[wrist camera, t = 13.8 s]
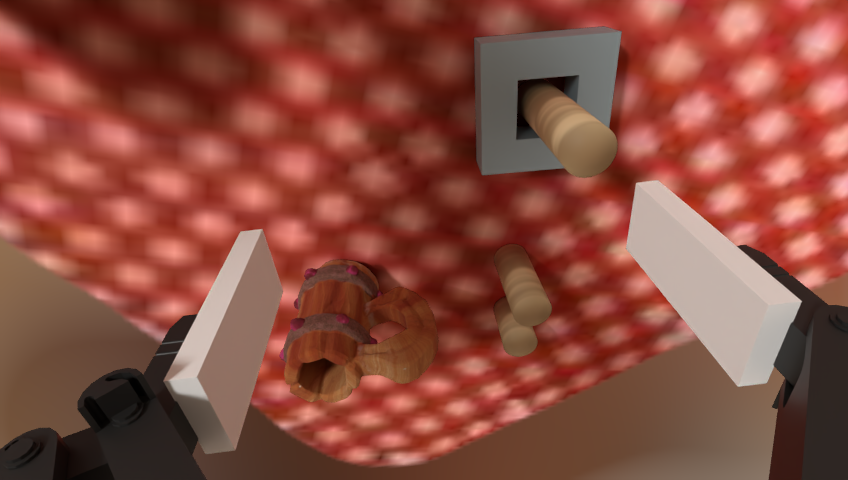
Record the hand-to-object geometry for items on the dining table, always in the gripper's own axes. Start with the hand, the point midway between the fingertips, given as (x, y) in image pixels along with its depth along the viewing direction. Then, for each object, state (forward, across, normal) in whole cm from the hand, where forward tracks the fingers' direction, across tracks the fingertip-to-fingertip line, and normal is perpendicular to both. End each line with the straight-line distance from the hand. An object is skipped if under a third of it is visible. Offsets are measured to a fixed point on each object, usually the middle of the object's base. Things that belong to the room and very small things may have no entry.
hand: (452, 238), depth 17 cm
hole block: (+28, +11, -4) cm, 30 cm away
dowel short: (+27, +8, -28) cm, 39 cm away
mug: (+28, -8, -21) cm, 36 cm away
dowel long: (+28, +11, -4) cm, 30 cm away
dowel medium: (+27, +8, -21) cm, 35 cm away
